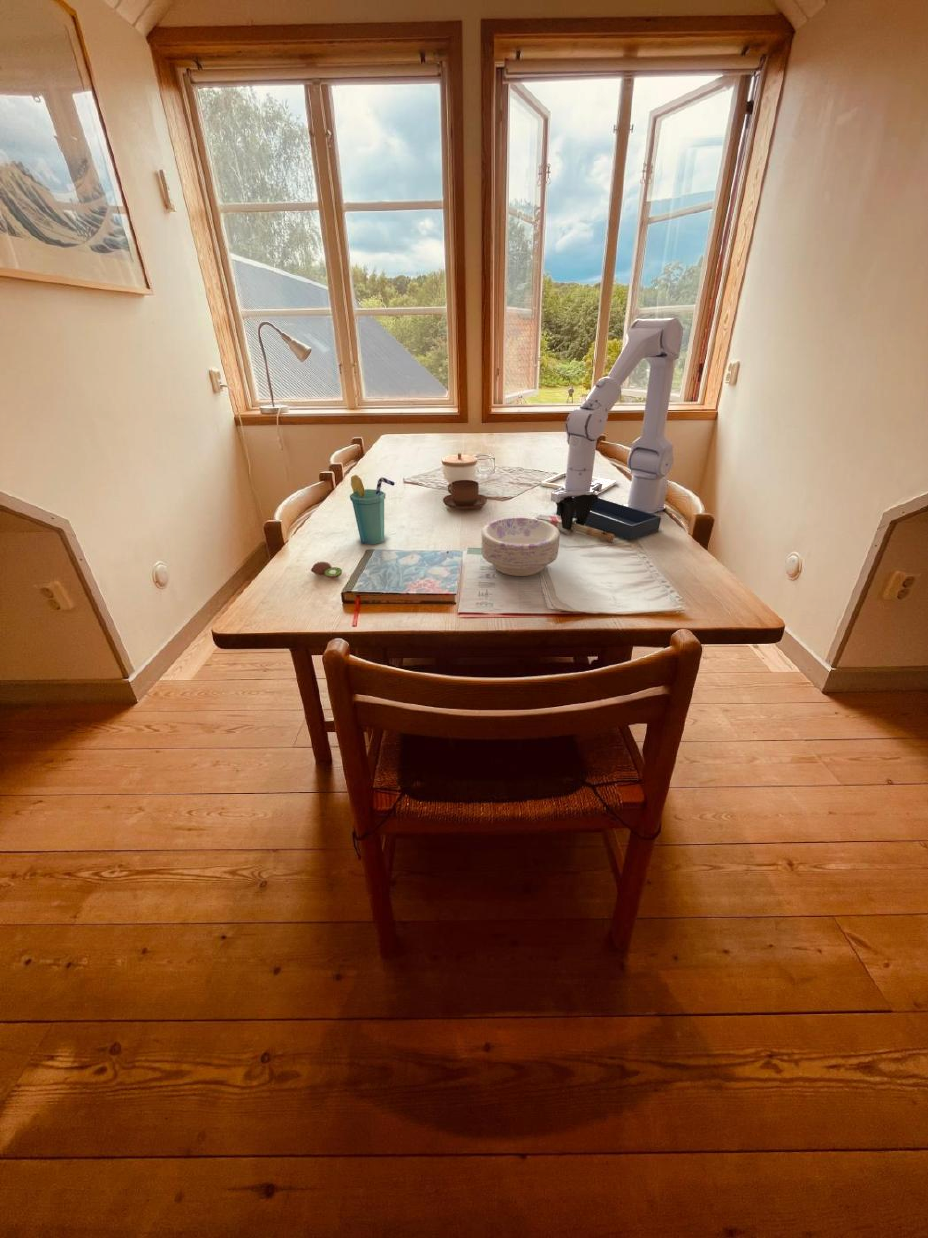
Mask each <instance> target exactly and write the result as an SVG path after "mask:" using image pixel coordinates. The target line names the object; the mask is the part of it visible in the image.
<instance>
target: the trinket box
mask: <svg viewBox="0 0 928 1238" xmlns="http://www.w3.org/2000/svg"><path fill="white" fill-rule="evenodd" d="M441 467H442V474H443V478H444V480H445V481H446V482H447V484H448V485H449V484H451V483H452V482H454V481H458V480H472V481H475V478H476V476H477V469H478V458H477V457H475V456H473V455H468V454H467V455H465V454H462V453H461V452H458V453H457V454H455V455H447V456H445V457H442V459H441Z"/></svg>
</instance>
